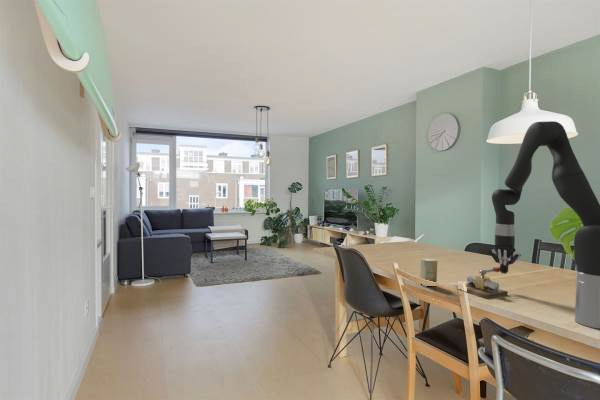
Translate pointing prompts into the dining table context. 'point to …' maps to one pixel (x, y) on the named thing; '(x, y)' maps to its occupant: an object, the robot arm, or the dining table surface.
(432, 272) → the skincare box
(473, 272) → the dining table surface
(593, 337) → the dining table surface
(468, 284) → the valve
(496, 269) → the lever
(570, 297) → the dining table surface
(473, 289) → the mounting board
